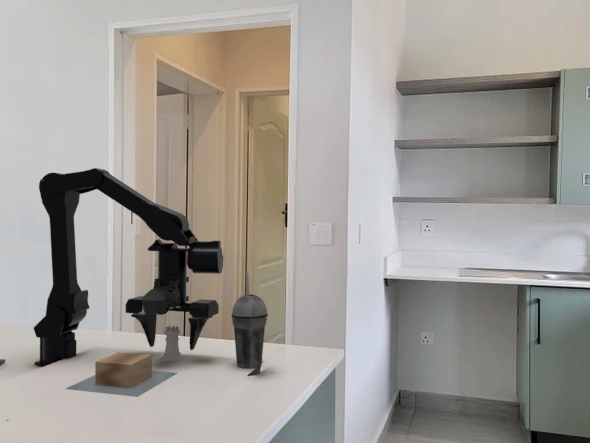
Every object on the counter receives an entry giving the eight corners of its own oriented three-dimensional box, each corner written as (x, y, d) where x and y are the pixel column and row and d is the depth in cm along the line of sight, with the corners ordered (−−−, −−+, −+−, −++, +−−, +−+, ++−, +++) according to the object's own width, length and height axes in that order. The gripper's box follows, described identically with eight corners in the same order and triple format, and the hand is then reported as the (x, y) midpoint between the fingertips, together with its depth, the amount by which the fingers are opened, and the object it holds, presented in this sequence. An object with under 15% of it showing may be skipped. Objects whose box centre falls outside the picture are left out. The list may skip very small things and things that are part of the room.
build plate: (64, 397, 93) (64, 388, 93) (112, 374, 107) (113, 366, 107) (137, 405, 90) (137, 396, 90) (177, 380, 103) (177, 372, 103)
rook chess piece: (177, 369, 111) (177, 330, 111) (157, 368, 112) (157, 328, 111) (186, 363, 115) (186, 325, 115) (166, 362, 116) (166, 324, 116)
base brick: (95, 384, 96) (95, 361, 96) (118, 373, 102) (118, 352, 102) (130, 388, 94) (130, 364, 94) (151, 376, 101) (151, 354, 101)
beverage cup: (273, 370, 111) (274, 271, 110) (256, 379, 104) (257, 275, 104) (242, 365, 114) (243, 269, 113) (223, 374, 107) (224, 273, 107)
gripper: (109, 275, 108) (109, 354, 108) (196, 279, 103) (195, 361, 103) (140, 270, 118) (139, 341, 119) (219, 273, 114) (219, 347, 114)
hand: (171, 348), depth 113 cm, fingers open, 9 cm apart
